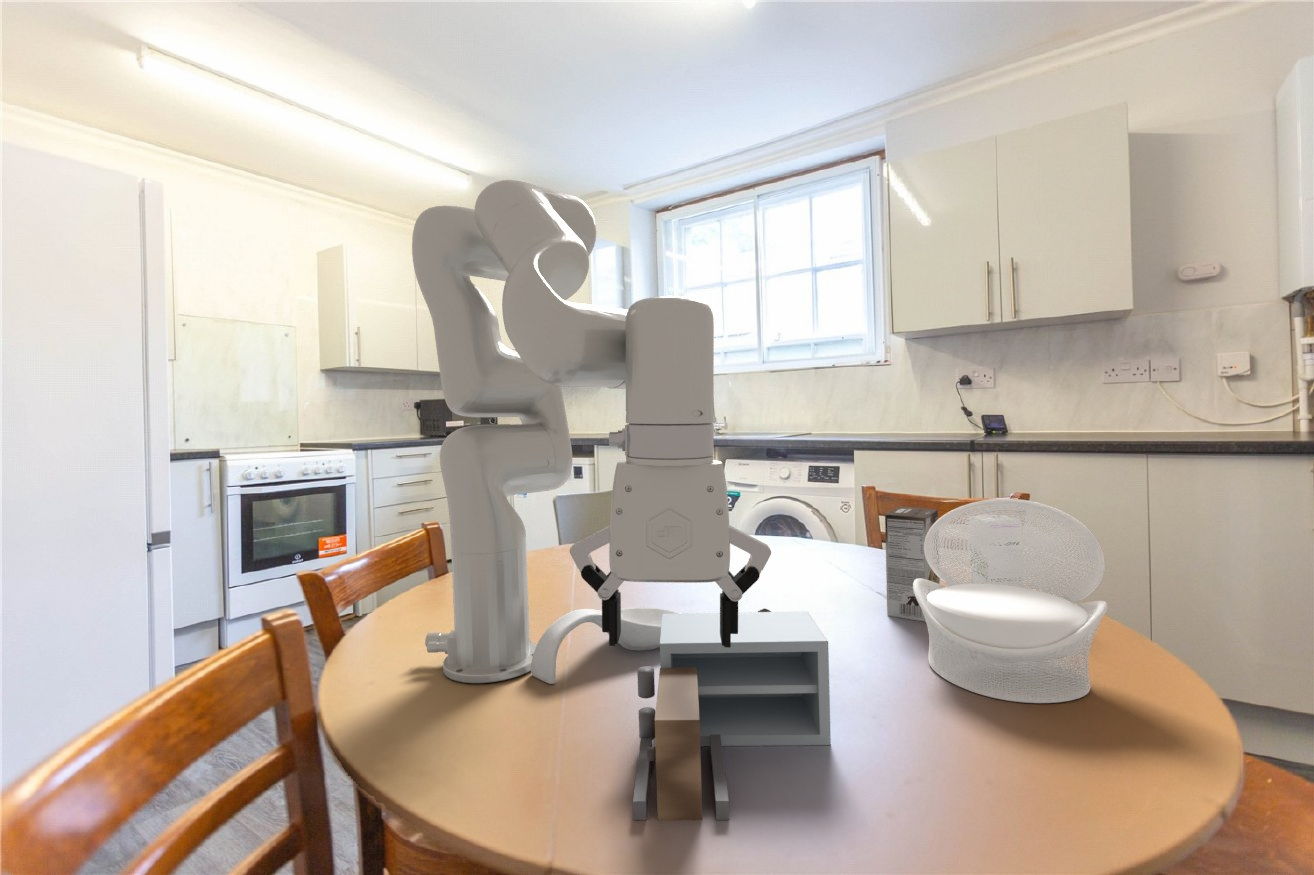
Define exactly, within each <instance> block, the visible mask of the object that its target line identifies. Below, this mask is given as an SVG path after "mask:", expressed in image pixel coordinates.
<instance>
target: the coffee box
mask: <svg viewBox="0 0 1314 875" xmlns="http://www.w3.org/2000/svg"><path fill="white" fill-rule="evenodd" d="M938 519H939V509H935V508H932V509H931V508H923V507H912V506H911V507H910V506H897V507H896V508H894V509H892V510H890V511H888V512H887V513H886V514H884V524H885V525H884V526H885V527H884V530H885V565H886V566H885V569H886V574H885V575H886V578H885V579H886V612H887V613H886V616H888V617H893V618H899V619H900V618H901V619H905V620H906V619H907V620H912V621H918V622H924V623H926V620H925V617H924V614H923V612H922V609H921V607H920V605H919V603H918V601H917V599H916V597H915V594H914V590H913V583H914V580H916V579H918V578H922V579H926V580H929V581H932V582H935V583H938V584H940V585H941V579H940V578H939V577H938V576H937V575H936V574H935V573H934V572H933V570H932V569H931V567H930V566H929V564H928V562H927V560H926V557H925V553H924V541H925V537H926V535H927V533H928V531H929V529H930V528H931V527H932V525H933V524H934V523H935V522H936V521H937V520H938ZM936 530H937V529H936ZM936 532H937V531H936ZM934 536H935V535H934ZM938 537H939V536H938ZM935 539H936V538H935ZM934 541H935V540H934ZM936 542H937V540H936ZM932 543H933V542H932ZM934 543H935V542H934ZM937 543H938V542H937ZM936 546H937V544H936ZM939 546H940V545H939ZM939 546H938V547H939ZM938 547H937V548H938ZM934 548H935V547H934ZM937 548H936V550H937ZM939 548H940V547H939ZM939 548H938V549H939ZM933 550H934V549H933ZM939 550H940V549H939ZM937 552H938V550H937ZM932 554H933V553H932ZM936 554H938V553H936ZM938 555H939V554H938ZM934 556H935V555H934ZM936 557H937V556H936ZM933 558H934V557H933ZM933 558H932V559H933ZM938 559H939V558H938ZM937 562H938V561H937ZM938 563H939V562H938ZM939 568H940V567H939ZM939 568H938V569H939ZM928 587H929V586H928ZM923 588H924V587H923ZM926 588H927V587H926ZM930 588H931V587H930ZM930 588H929V589H930ZM929 589H927V590H929ZM934 589H935V588H934ZM934 589H933V590H934ZM922 592H924V591H922ZM928 593H930V592H928ZM926 594H927V593H926ZM927 595H928V594H927ZM924 599H925V598H924ZM926 601H927V599H926Z"/></svg>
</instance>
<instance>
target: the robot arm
mask: <svg viewBox="0 0 1314 875" xmlns="http://www.w3.org/2000/svg"><path fill="white" fill-rule="evenodd" d="M596 240H597V225H596V220H595V217H594V215H593V212H592V210H591V209H590V208H589V206H588V205H587V204H586V203H585V202H584V200H582V199H580V198H579V197H577V196H574V195H572V194H570V193H565V192H562V191H558V190H555V189H554V190H553V189H549V188H547V187H544V186H543V187H542V186H539V185H536V184H533V183H529V182H525V181H520V180H516V179H515V180H514V179H503V180H498V181H495V182H492V183H490V184H489V185H487V186H486V187H485V188H484V189H483V190H481V192H480V193H479V195H478V196H477V198H476V201H475V205H474V208H469V207H463V206H457V205H436V206H431V207H429V208H427V209H425V210H423V211H422V212H421V213H420V214H419V215H418V217H417V218H416V220H415V224H414V227H413V232H412V237H411V253H412V254H411V255H412V263H413V270H414V273H415V277H416V280H417V283H418V287H419V289H420V291H421V295H422V296H423V299H424V301H425V303H426V306H427V308H428V312H429V314H430V317H431V320H432V325H433V332H434V340H435V347H436V353H437V362H438V369H439V376H440V383H441V389H442V393H443V397H444V398H443V399H444V401H445V403H446V406H447V407H448V409H449V410H450V412H451V413H454V414H455V415H457V416H461V417H469V418H518V419H519V420H520V422H521V423H519V424H514V423H513V424H510V423H506V424H505V423H502V424H501V423H499V424H495V423H494V424H475V425H469V426H464V427H461V428H458V429H456V430H454V431H452V432H451V433H450V434H448V435H447V437H445V439H444V440H443V442H442V444H441V447H440V451H439V464H440V465H439V466H440V472H441V476H442V480H443V485H444V490H445V491H444V492H445V494H446V502H447V506H448V516H449V529H450V550H451V573H452V574H451V575H452V600H453V601H452V602H453V625H454V626H453V629H454V630H450V632H448V633H447V632H446V633H444V632H427V634H426V636H425V641H424V645H425V647H426V651H427V653H431V654H432V653H434V654H435V653H441V652H442V653H444V654H445V655H447V656H446V657H445V658H444V660H443V662H442V670H443V671H442V672H443V674H444V675H445V676H446V677H447V678H449V679H450V680H453V681H455V682H460V683H467V684H486V683H489V684H490V683H495V682H496V683H497V682H502V681H508V680H511V679H514V678H517V677H520V676H523V675H524V674H527V673H529V672H531V662H532V658H533V654H534V651H535V648H536V646H537V644H538V643H535V642H533V641H532V640H531V637H530V636H531V634H530V616H529V615H530V613H529V612H530V609H529V582H528V581H529V580H528V578H529V577H528V554H527V553H528V552H527V551H528V550H527V533H526V527H525V524H524V521H523V520H522V517H520V515H519V513H518V512H517V511H516V509H514V507H513V506H512V505H511V502H510V501H509V499H508V497H510V496H515V495H523V494H532V493H540V492H549V491H554V490H557V489H559V488H561V487H562V486H564V485H565V484H566V483H567V482H568V480H569V479H570V477H571V472H572V471H573V469H572V468H573V450H572V442H571V436H570V429H569V424H568V419H567V411H566V406H565V400H564V399H565V398H564V394H563V389H562V388H604V389H605V388H608V389H611V390H612V389H614V390H615V389H618V390H619V389H620V390H622V389H623V390H625V412H626V413H625V423H626V424H625V425H624V427H623V428H622V429H621V430H617V431H609V433H608V446H609V448H617V449H618V450H619V449H620V450H622V452H624V455H625V459H624V460H619V461H618V462H617V463H616V466H615V471H614V478H613V484H612V490H611V502H610V517H609V518H610V520H609V521H610V522H609V525H607V526H605V527H603V528H602V529H600V530H597V531H595V532H593V533H592V534H590V535H587V536H586V537H584V538H582V539H580V540H578V541H576V542H574V543H573V544H572V545H571V546H570V548H569V554H570V556H571V557H572V558H571V559H572V560H573V562H574V564H575V565H576V568H577V569H578V570H579V572H580V575H581V578H582V580H584V581H585V583H586V584H588V585H589V587H590V588H592V589H593V590H594V592H596V593H597V596H598V598H599V599H600V600H601V610H602V628H601V631H602V633H607V632H609V634H608V645H609V646H610V647H616V646H617V645H619V643H618V642H619V638H620V634H621V609H622V604H621V602H622V595H621V593H622V592H621V591H619V587H621V586H622V584H623V583H624V582H632V583H694V584H695V583H701V584H702V583H714V582H715V583H716V585H717V586H718V587H719V588H720V589H721V593H719V613H720V637H721V643H722V646H724V647H731V634H738V613H739V601H741V599H742V598H743V595H745V593H746V592H747V591H748V590H749V589H750V588H751V587H752V586H753V585H754V584H755V583H756V582H757V581H758V580H759V579H760V576H761V574H762V572H763V570H764V569H765V566H766V565H767V562H768V561H769V559H770V557H771V555H772V550H771V548H770V546H769V545H768V544H766V543H765V542H762V541H761V540H759V539H757V538H755V537H753V536H751V535H750V534H748V533H746V532H744V531H742V530H740V529H737V528H736V527H734V526H732V525H730V510H729V497H728V486H727V479H726V473H725V469H724V465H723V462H722V461H720V460H717V459H714V458H715V457H714V455H715V454H714V440H715V438H714V432H715V429H714V384H715V383H714V360H715V359H714V344H715V343H714V342H715V341H714V337H715V336H714V335H715V332H714V330H715V328H714V327H715V326H714V325H715V323H714V313H713V310H712V309H711V307H710V305H709V304H707V303H706V302H705V301H703V300H701V299H698V298H694V297H687V296H678V295H677V296H675V295H674V296H673V295H667V296H666V295H665V296H653V297H647V298H642V299H640V300H639V299H638V300H637V301H635V302H634V303H632V304H631V305H630V306H629V307H628V309H625V308H618V307H614V306H606V305H599V304H592V303H591V304H590V303H583V302H582V303H581V302H574V301H567V300H569V299H570V298H572V297H573V296H574V295H575V294H576V293H577V292H578V291H579V290H580V289H581V288H582V286H583V284H584V283H585V281H586V279H587V276H588V273H589V269H590V255H591V253H593V250H594V247H595V243H596ZM471 277H475V278H477V277H478V278H482V279H483V278H484V279H489V280H494V281H495V280H496V281H503V282H505V283H504V287H503V291H502V299H501V300H502V301H501V302H502V303H501V309H502V319H503V320H502V322H503V325H504V329H505V333H506V335H507V337H508V340H509V341H510V343H511V344H512V346H513V348H509V347H506V346H505V345H504V343H503V341H502V337H501V332H500V331H501V330H500V325H499V319H498V315H497V313H496V311H495V310H494V307H493V306H492V304H491V302H490V301H489V300H488V299H487V297H486V296H485V295H484V293H483V292H482V291H481V289H479V288H478V287H477V286H476V285H475V284H474V283H473V282H472V280H471ZM606 545H609V546H608V550H609V551H608V556H609V558H608V560H609V561H608V562H609V570H610V571H609V572H608V573H607V574H606V573H605V572H604V571H603V570H602V569H601V568H600V567H599V566H598V565H597V564H596V563H595V562H594V560H593V558H592V556H591V553H592V552H594V551H596V550H598V549H600V548H602V547H604V546H606ZM731 545H732V546H734V547H736V548H738V549H740V550H742V551H744V552H745V553H746V552H747V553H748V554H750V556H749V558H748V561H747V563H746V564H745V565H744V566H743V567H742V568H741V569H740V570H739V571H738V572H737V573H736V574H735V575H733V573H732V572H731V571H730V562H731ZM530 640H531V641H530Z"/></svg>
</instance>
